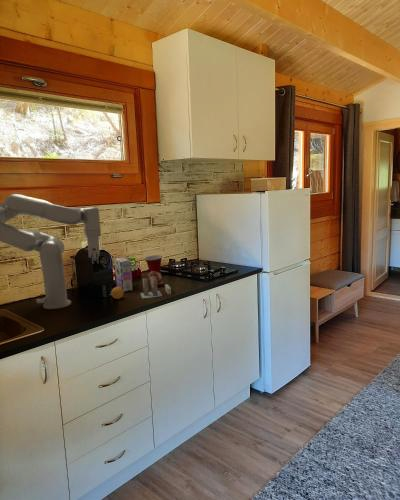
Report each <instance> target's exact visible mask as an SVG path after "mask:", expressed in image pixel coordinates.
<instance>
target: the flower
mask: <svg viewBox="0 0 400 500" xmlns="http://www.w3.org/2000/svg"><path fill="white" fill-rule="evenodd" d="M150 277H155V279H157V286H159V287H161V286H162V284H163V283H164V278H163V277H162V274H161V272H160V273H158V272H155V271H151V272H149V273H148V274H147V280H148V286H149V285H150V286H151V278H150Z"/></svg>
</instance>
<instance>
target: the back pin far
mask: <svg viewBox="0 0 400 500" xmlns="http://www.w3.org/2000/svg"><path fill="white" fill-rule="evenodd" d="M150 278H151V284H150V289H151V291H150V292H152V293H153V289H152V279H155V277H150Z"/></svg>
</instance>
